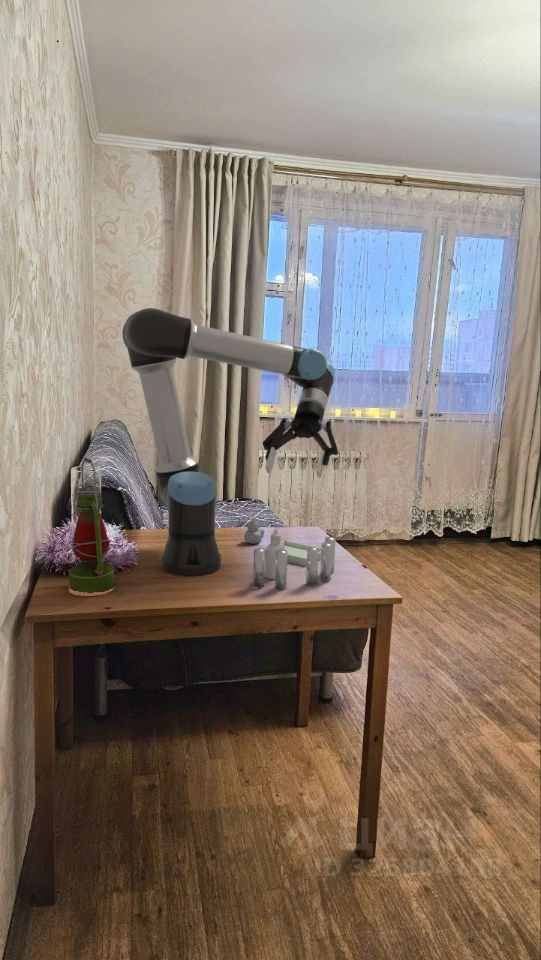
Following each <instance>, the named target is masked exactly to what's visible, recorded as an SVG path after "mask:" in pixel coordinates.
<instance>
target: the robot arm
mask: <svg viewBox="0 0 541 960" xmlns="http://www.w3.org/2000/svg"><path fill="white" fill-rule="evenodd" d="M122 339H123V343H124V345H125V347H126V349H127V351H128V352H127V353H128V357H129V361H130V366H131V369H133V370H134V371H135V372H137V373H138V374H139V378H140V383H141V387H142V392H143V396H144V400H145V405H146V410H147V414H148V420H149V423H150V427H151V432H152V435H153V440H154V441H153V442H154V445H155V450H156V455H157V458H158V463H157V466H156V467H155V468H154V471H155V476H156V479H157V493H158V496H159V499H160V501H161V503H162V504H163V506H165V508H166V509H167V512H168V514H167V515H168V516H167V517H168V523H167V524H168V537H167V541H166V544H165V547H164V551H163V554H162V556H161V568H162V570H163V571H165V572H167V573H171V574H174V575H179V576H199V575H200V576H202V575H206V574H210V573H213V572H216V571H218V570H220V569H221V567H222V555H221V553H220V551H219V547H218V543H217V541H216V540H217V539H216V534H215V531H216V530H215V528H216V526H215V523H216V521H215V520H216V495H217V494H216V491H217V490H216V483H215V480H214V478H213V477H212V476H211V475H210V474H207V473H202V472H201V470H200V466H199V461H198V460H197V458H194V457H193V456H192V455H191V451H190V445H189V441H188V436H187V435H188V434H187V431H186V428H185V427H186V426H185V422H184V419H183V411H182V407H181V403H180V399H179V393H178V388H177V384H176V380H175V376H174V370H173V366H174V364H175V363H176V362H177V359H182V360H186V359H187V358H188V357H194V358H197V359H198V358H199V359H203V360H208V361H212V362H213V361H214V362H217V363H223V364H228V365H233V366H238V367H245V368H248V369H255V370H258V371H264V372H269V373H274V374H280V375H282V376H284V377H285V378H287V379H288V380H290V381H291V382H293V383H295V384H296V385H297V386H299V387H301V388H302V389H301V390H302V391H301V394H300V397H299V400H298V404H297V407H296V411H295V413H294V417H293V420H292V421H289V420H287V419H286V418H282V419H281V421H280V423H279V425H278V426H277V427H276V428H275V429H274V430H273V431H272V432H271V433H270V434H269V435H268V436H267V437H266V438H265V439H264V441H262V442H261V443H262V446H263V448H264V450H265V451H266V454H265V456H264V457H265V461H266V463H265V466H264V468H265V470H266V472H267V474H271V472H272V469H273V466H274V462H275V459H276V456H277V450H279V449H280V448H282V447H284V445H286V444H287V443H289V442H290V441H291V440H296V438H298V439H299V438H300V439H304V438H305V439H310V438H312V439H314V441H315V442H316V443H317V444H318V446H319V447H320V448H321V451H320V456H319V459H318V463H317V466H316V471H315V472H316V476H317V478H322V475H323V471H324V468H325V466H328V465H329V462H330V458H331V456H332V455H334V456H338V454H339V450H338V446H337V443H336V441H335V438H334V434H333V426H332V423H331V422H332V421H330V420H327V421H326V423H323V419H324V417H325V411H326V408H327V405H328V401H329V396H330V394H331V391H332V387H333V385H334V381H335V372H336V371H335V368H334V365H333V364H332V363H330V362H329V361H327V359H326V356H325V354H324V353H322V351H321V350H317V349H314V348H305V347H300V346H294V345H290V344H288V343H286V342H284V341H282V342H278V341H272V340H268V339H263V338H259V337H255V336H250V335H245V334H241V333H236V332H233V331H232V332H231V331H226V330H222V329H217V328H213V327H209V326H203V325H200V324H199V325H198V324H195V322H194V320H193V319H192V318H189V317H184V316H180V315H177V314H172V313H170V312H168V311H165V310H162V309H159V308H156V307H155V308H154V307H148V308H143V309H140V310H138V311H136V312H133V313H132V314H131V315H130V316H128V318H127V319H126V320H125V323H124V324H123V328H122ZM322 429H323V432H325V433H326V435H327V438H328V441H329V443H330V446H328V445H327V443H326V442H325V440H324V439H323V437H322V436H321V434H320V433H319V432H320V431H321V430H322Z"/></svg>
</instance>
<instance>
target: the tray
mask: <svg viewBox="0 0 541 960" xmlns="http://www.w3.org/2000/svg"><path fill="white" fill-rule="evenodd" d="M280 543H281V544H283V545H284V546H285V550H287V563H291V564H294V565H299V566H303V567H307V548H308V547H317V548H318V561H321V549H322V547H319V546H315V545H311V544H310V545H309V544H305V543H300V542H296V541H292V540H287V539H284V540H281V542H280ZM266 548H267V546H266V547H263V549H265V553H266Z"/></svg>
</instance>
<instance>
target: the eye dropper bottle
mask: <svg viewBox="0 0 541 960" xmlns="http://www.w3.org/2000/svg"><path fill="white" fill-rule="evenodd" d="M281 536H282V534H280V533H279V532H278V528H274V530H273V533H271V534H270V543H269V544H268V545H267V546H266V547H267V548H266V547H265V548H266V553H265V574H264V579H268V580H271V579H273V580H275V575H276V551H277V550H285V546H284V545H283V544H281V543H280V542H281V541H282V540H281V538H282V537H281Z"/></svg>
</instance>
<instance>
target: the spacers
mask: <svg viewBox="0 0 541 960" xmlns="http://www.w3.org/2000/svg"><path fill="white" fill-rule="evenodd" d="M317 547H318V546H315V547H308V548H307V566H306V570H305V571H306V574H305V576H306V577H305V585H306V586H307V587H316V586H317V585H318V569H319V568H318V567H319V565H318V564H319V563H318V548H317ZM263 548H264V547H263ZM263 548H262V547H255V548H254V549H253V568H252V569H253V573H252V574H253V579H252V587H253V586H254V587H257V588H256V589H262V588H261V587H263V588H265V549H263ZM321 548H322V549H321V560H320V571H319V572H320V574H319V575H320V577H319V579H320V581H322V582H331V581H332V575H333V574H334V573H335V559H336V558H335V555H336V537H334V536H326V537H324V542H322V543H321ZM287 571H288V562H287V550H277V551H276V575H275V579H274V581H275V582H274V583H275V584H274V585H275V586H274V589H275V588H276V589H275V590H277V589H278V590H277V591H285V590H287V574H288V572H287ZM254 587H253V588H254Z"/></svg>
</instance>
